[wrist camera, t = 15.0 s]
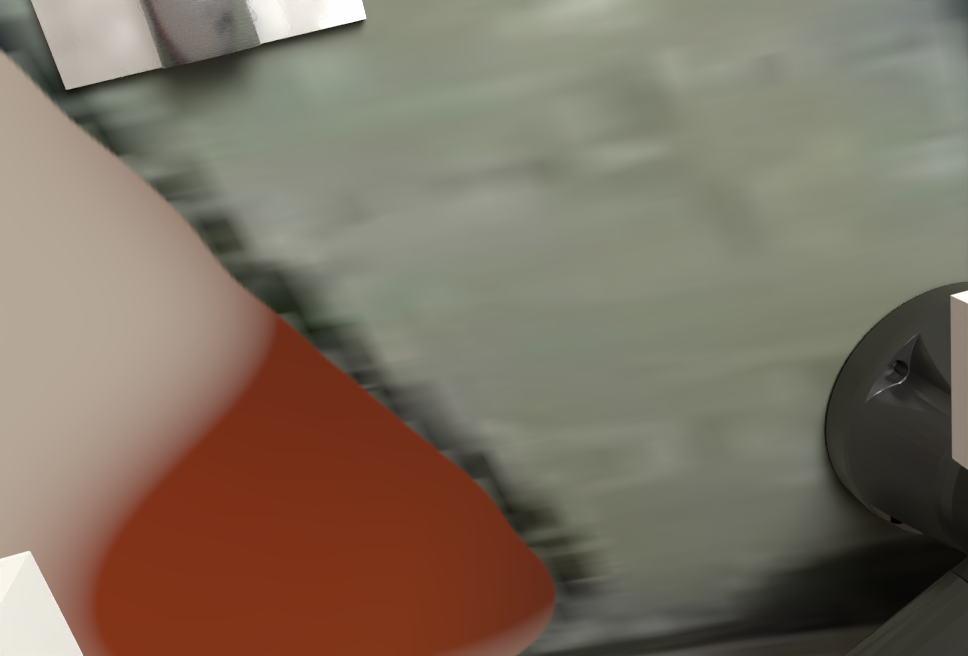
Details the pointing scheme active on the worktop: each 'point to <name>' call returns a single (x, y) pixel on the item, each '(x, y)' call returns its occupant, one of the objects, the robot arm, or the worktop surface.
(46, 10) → the hinge leaf
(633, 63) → the worktop surface
